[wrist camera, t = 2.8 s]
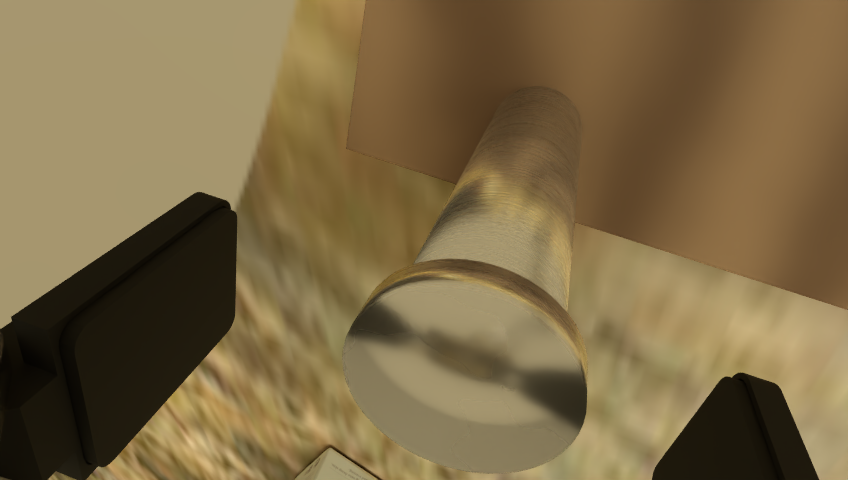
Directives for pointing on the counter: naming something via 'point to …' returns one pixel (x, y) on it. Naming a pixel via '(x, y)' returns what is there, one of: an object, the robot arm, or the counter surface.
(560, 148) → the hinge pin
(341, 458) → the skincare box
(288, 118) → the counter surface
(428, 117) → the hinge board
